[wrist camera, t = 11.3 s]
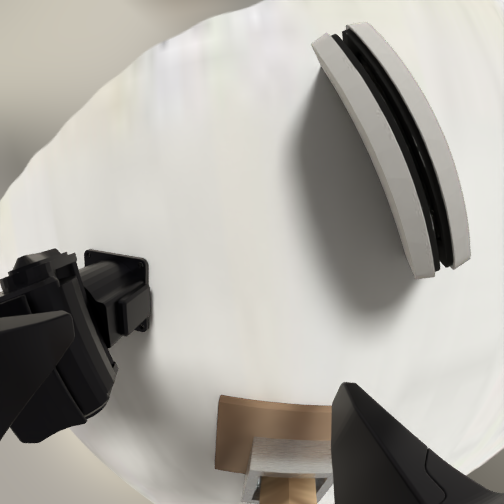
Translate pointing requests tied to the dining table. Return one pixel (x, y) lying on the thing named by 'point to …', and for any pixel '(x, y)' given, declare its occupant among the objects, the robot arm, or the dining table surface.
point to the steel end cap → (287, 464)
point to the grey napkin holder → (401, 146)
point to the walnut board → (264, 427)
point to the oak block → (287, 490)
